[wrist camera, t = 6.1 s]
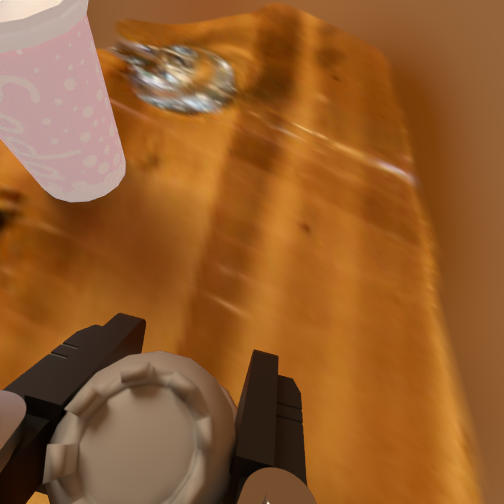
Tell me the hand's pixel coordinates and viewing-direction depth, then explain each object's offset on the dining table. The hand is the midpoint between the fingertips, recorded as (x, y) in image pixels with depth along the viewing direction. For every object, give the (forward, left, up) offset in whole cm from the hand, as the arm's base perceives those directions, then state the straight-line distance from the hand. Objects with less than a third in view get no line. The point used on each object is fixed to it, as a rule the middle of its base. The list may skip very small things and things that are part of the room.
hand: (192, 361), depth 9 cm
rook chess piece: (0, -2, -4) cm, 5 cm away
